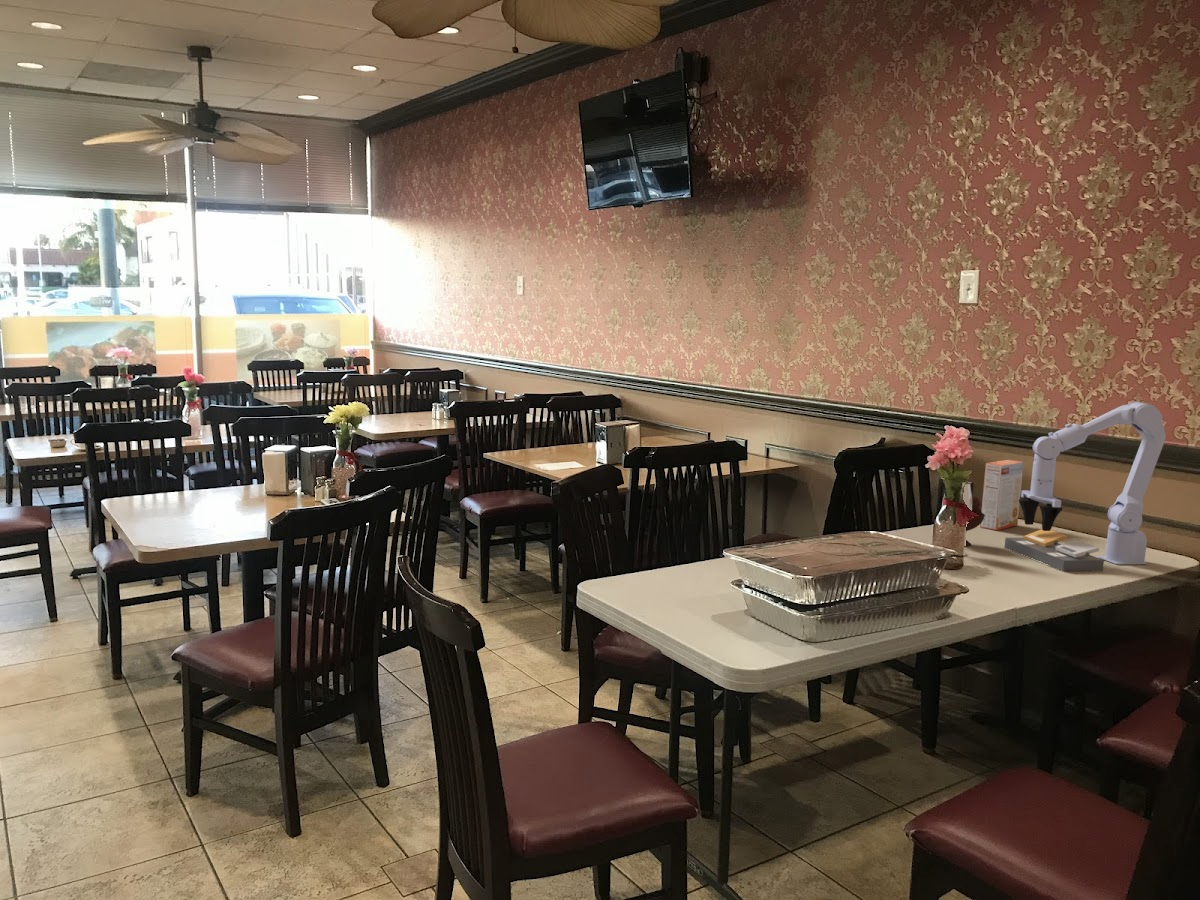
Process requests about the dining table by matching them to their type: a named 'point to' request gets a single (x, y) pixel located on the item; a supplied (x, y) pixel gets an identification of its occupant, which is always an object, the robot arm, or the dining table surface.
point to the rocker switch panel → (1054, 556)
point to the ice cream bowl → (976, 520)
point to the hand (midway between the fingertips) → (1037, 527)
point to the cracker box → (1001, 494)
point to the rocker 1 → (1045, 537)
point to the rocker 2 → (1077, 549)
